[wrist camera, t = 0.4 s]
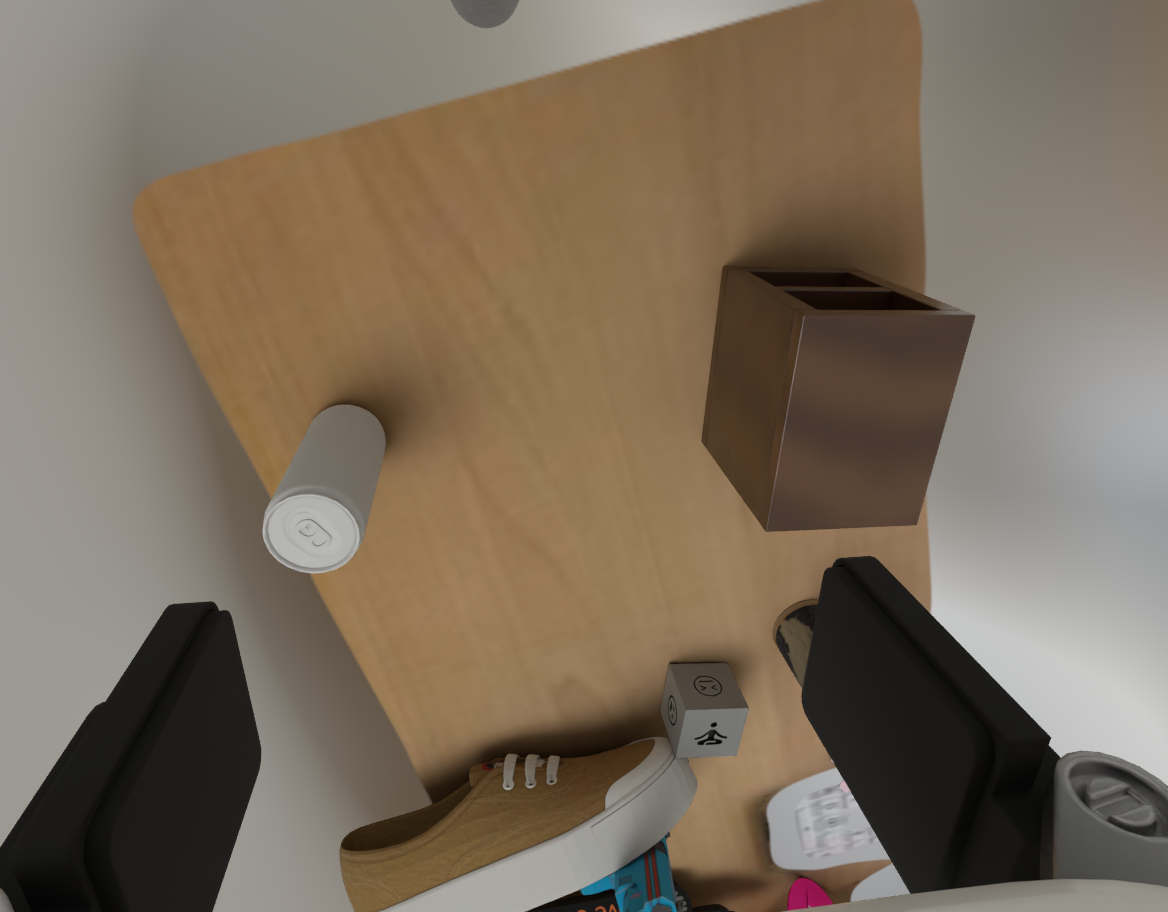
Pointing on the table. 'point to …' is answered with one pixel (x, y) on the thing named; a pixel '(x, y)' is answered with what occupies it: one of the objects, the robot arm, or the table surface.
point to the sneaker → (520, 832)
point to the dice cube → (703, 710)
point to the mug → (796, 635)
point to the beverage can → (327, 491)
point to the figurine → (806, 895)
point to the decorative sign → (604, 907)
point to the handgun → (642, 883)
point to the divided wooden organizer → (830, 394)
